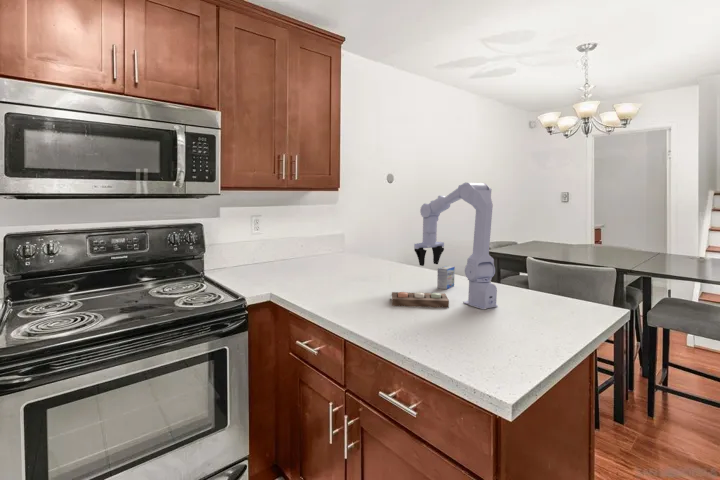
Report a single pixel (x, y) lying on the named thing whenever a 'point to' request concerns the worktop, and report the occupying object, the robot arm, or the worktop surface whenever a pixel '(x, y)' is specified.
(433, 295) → the sage button
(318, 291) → the worktop surface
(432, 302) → the button panel
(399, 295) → the terracotta button
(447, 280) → the medicine box
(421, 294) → the cream button
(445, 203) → the robot arm
